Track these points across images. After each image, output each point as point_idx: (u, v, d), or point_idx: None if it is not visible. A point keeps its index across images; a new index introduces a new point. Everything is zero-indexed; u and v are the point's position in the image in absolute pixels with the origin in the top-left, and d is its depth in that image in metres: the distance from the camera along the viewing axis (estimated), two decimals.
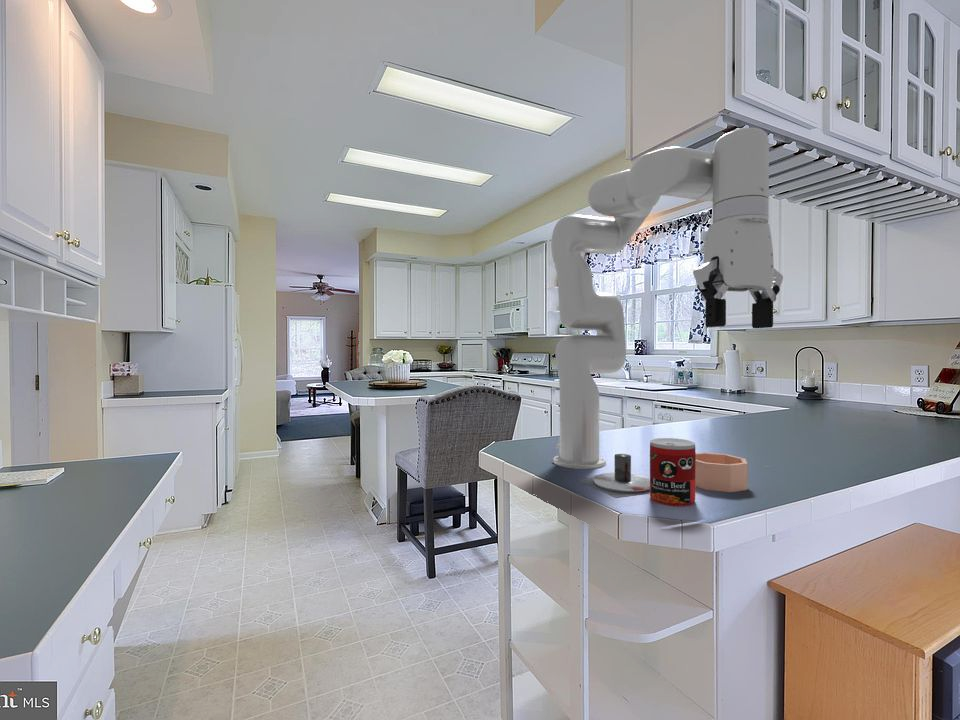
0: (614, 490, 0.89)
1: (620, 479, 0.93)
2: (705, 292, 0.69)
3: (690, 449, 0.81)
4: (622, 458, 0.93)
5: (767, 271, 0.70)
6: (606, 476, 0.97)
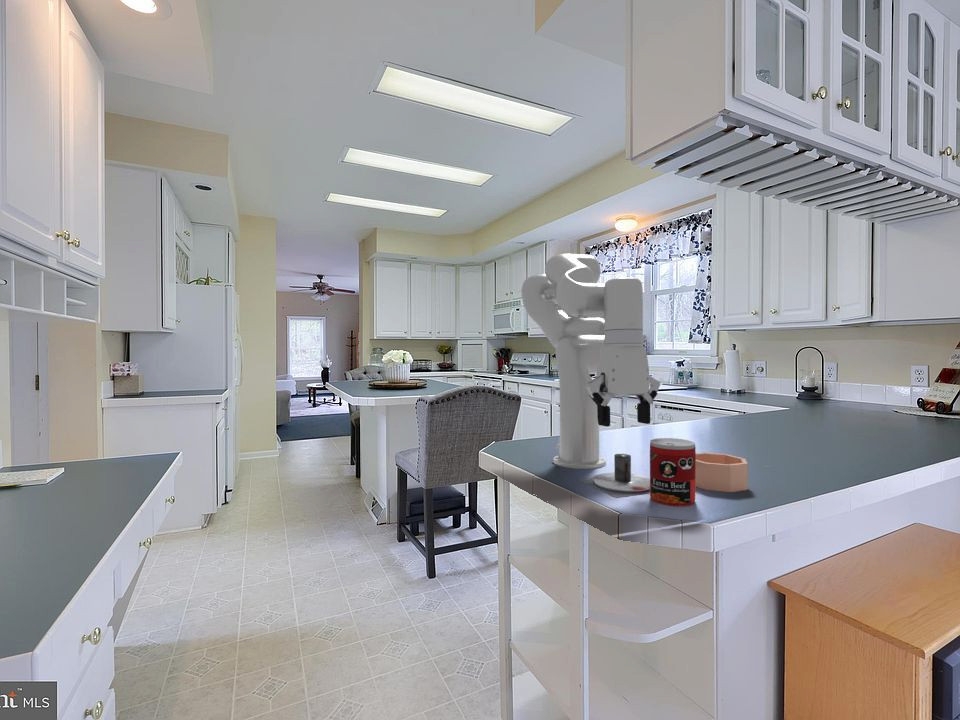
0: (614, 490, 0.89)
1: (620, 479, 0.93)
2: (595, 400, 0.91)
3: (690, 449, 0.81)
4: (622, 458, 0.93)
5: (643, 382, 0.93)
6: (606, 476, 0.97)
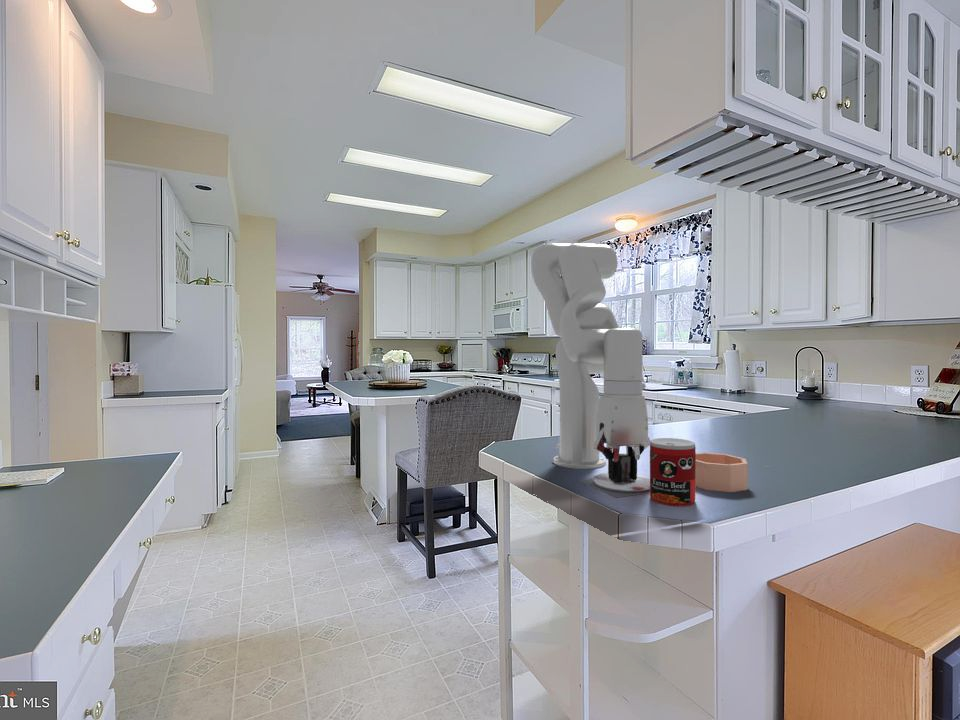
0: (614, 490, 0.89)
1: None
2: (606, 456, 0.93)
3: (690, 449, 0.81)
4: (622, 458, 0.93)
5: (642, 432, 0.93)
6: (606, 476, 0.97)
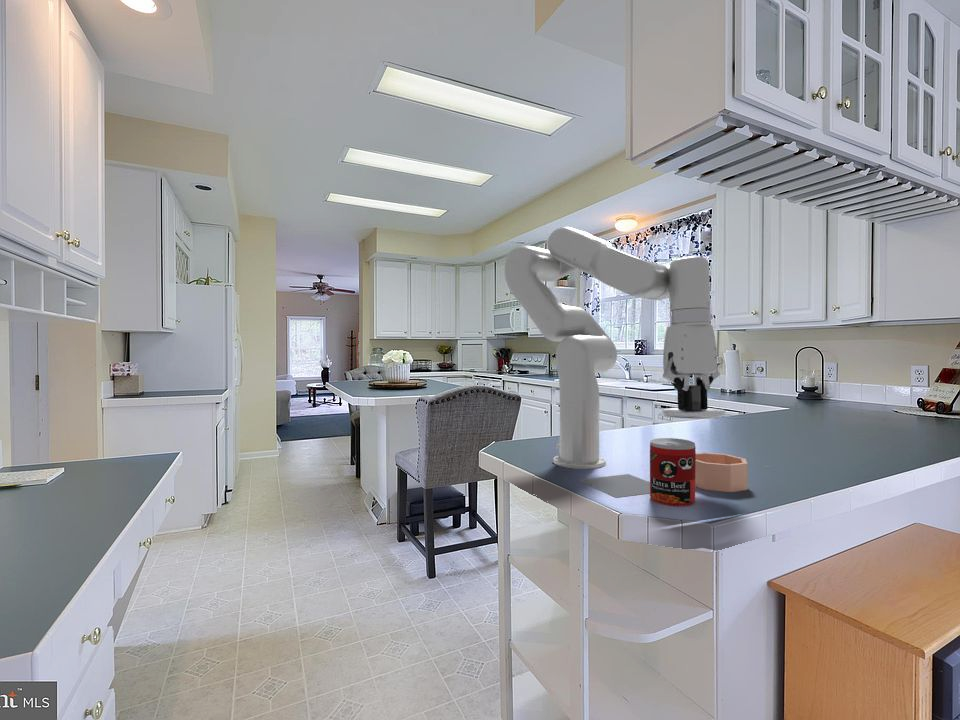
0: (687, 416, 0.89)
1: None
2: (676, 385, 0.93)
3: (690, 449, 0.81)
4: (692, 387, 0.92)
5: (711, 361, 0.93)
6: (674, 409, 0.97)
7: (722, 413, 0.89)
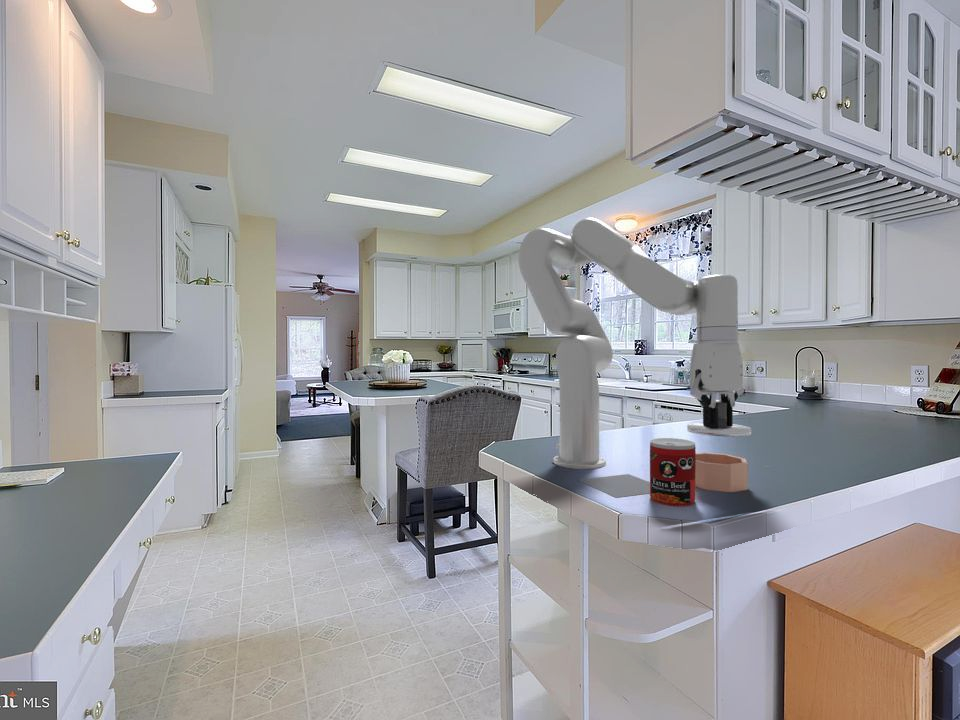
0: (715, 434, 0.90)
1: None
2: (702, 402, 0.93)
3: (690, 449, 0.81)
4: (719, 404, 0.93)
5: (737, 379, 0.94)
6: (699, 425, 0.97)
7: (749, 431, 0.90)
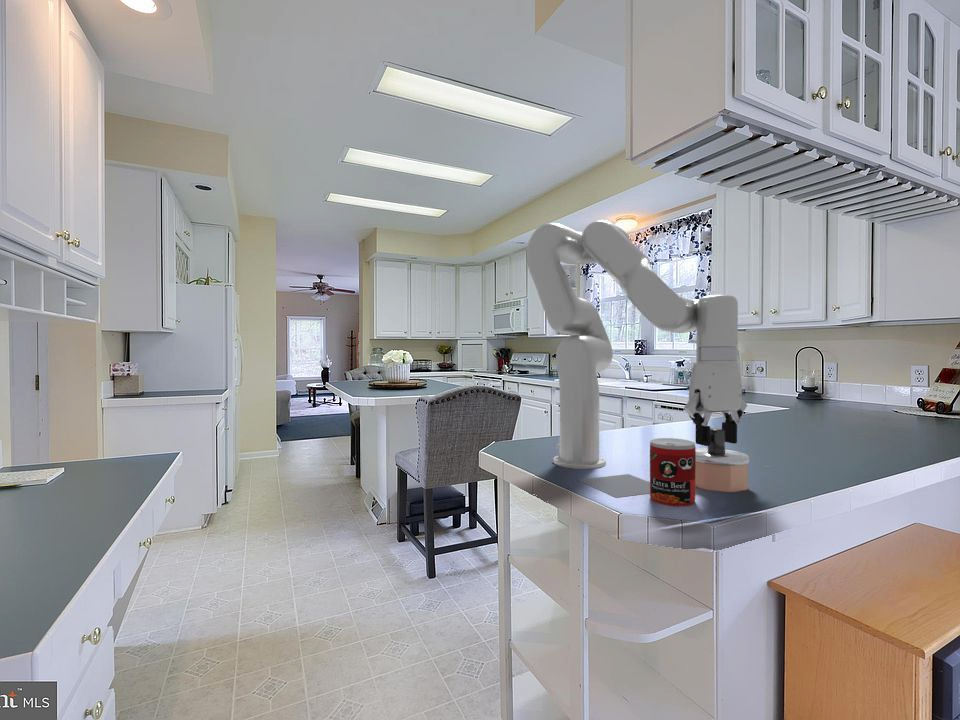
0: (713, 462, 0.90)
1: (715, 453, 0.94)
2: (695, 420, 0.93)
3: (690, 449, 0.81)
4: (717, 432, 0.93)
5: (737, 399, 0.94)
6: (697, 451, 0.98)
7: (747, 459, 0.91)
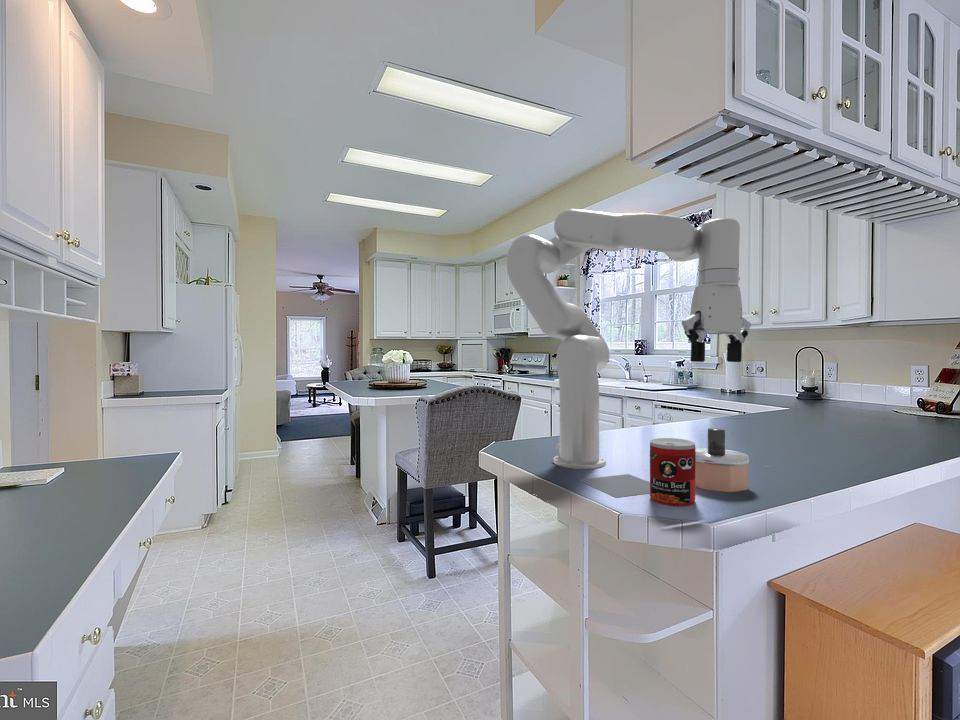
0: (713, 462, 0.90)
1: (715, 453, 0.94)
2: (690, 337, 0.95)
3: (690, 449, 0.81)
4: (717, 432, 0.93)
5: (737, 321, 0.96)
6: (697, 451, 0.98)
7: (747, 459, 0.91)
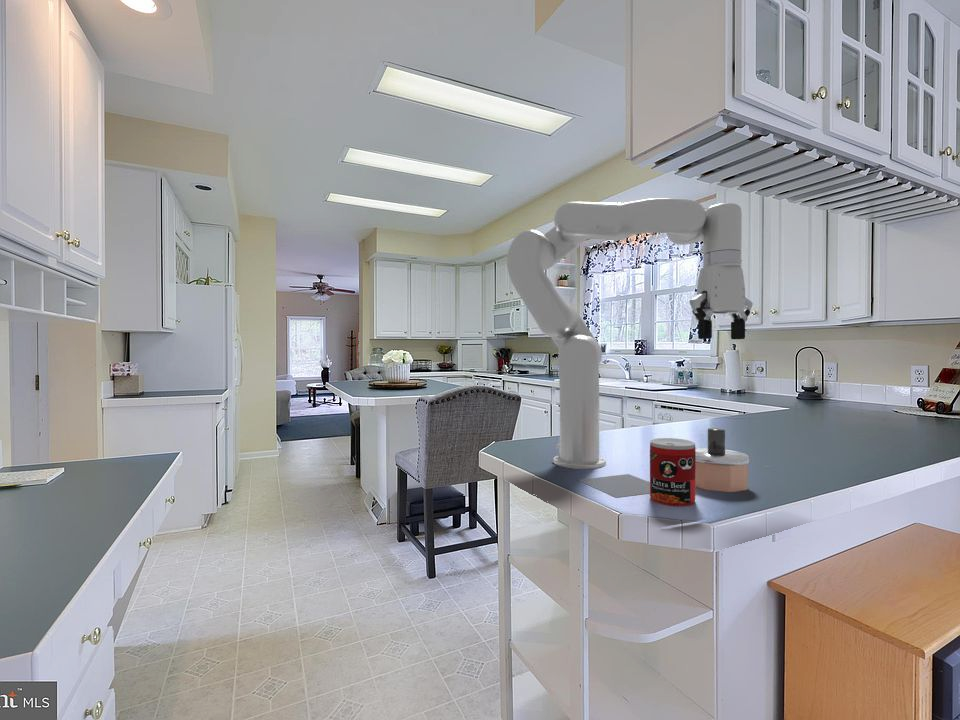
0: (713, 462, 0.90)
1: (715, 453, 0.94)
2: (697, 315, 1.01)
3: (690, 449, 0.81)
4: (717, 432, 0.93)
5: (740, 300, 1.02)
6: (697, 451, 0.98)
7: (747, 459, 0.91)
